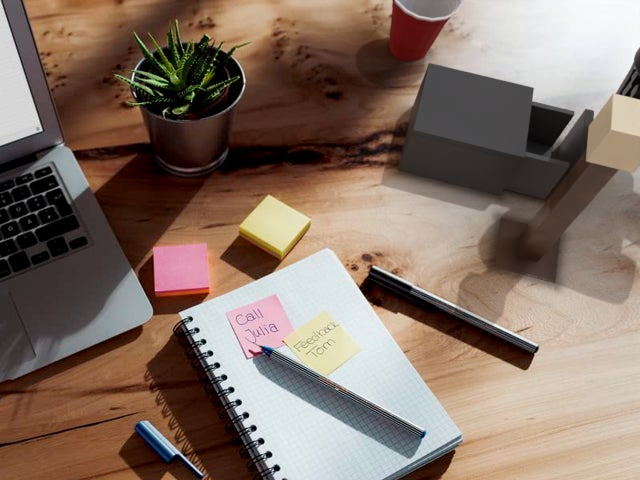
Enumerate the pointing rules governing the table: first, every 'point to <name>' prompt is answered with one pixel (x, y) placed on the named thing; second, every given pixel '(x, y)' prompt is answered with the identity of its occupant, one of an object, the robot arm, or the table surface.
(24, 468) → the table surface
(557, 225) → the stand
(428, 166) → the cabinet
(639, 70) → the robot arm
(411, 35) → the plastic cup
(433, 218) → the table surface
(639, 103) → the block
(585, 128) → the drawer
